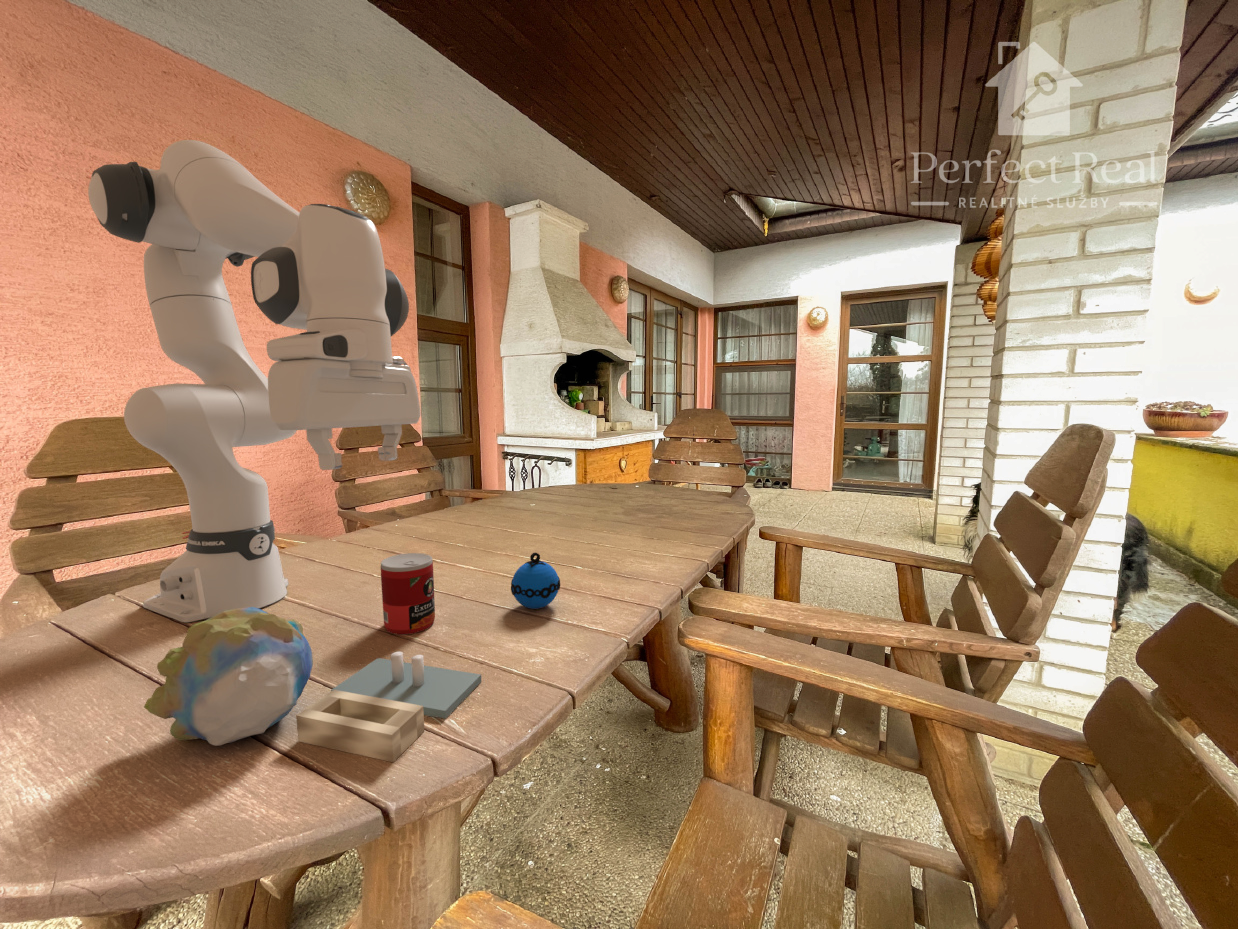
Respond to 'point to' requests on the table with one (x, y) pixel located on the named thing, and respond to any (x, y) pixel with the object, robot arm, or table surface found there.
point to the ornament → (535, 583)
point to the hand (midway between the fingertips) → (361, 464)
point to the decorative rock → (233, 676)
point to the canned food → (408, 593)
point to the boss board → (413, 684)
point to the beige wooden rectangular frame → (361, 724)
